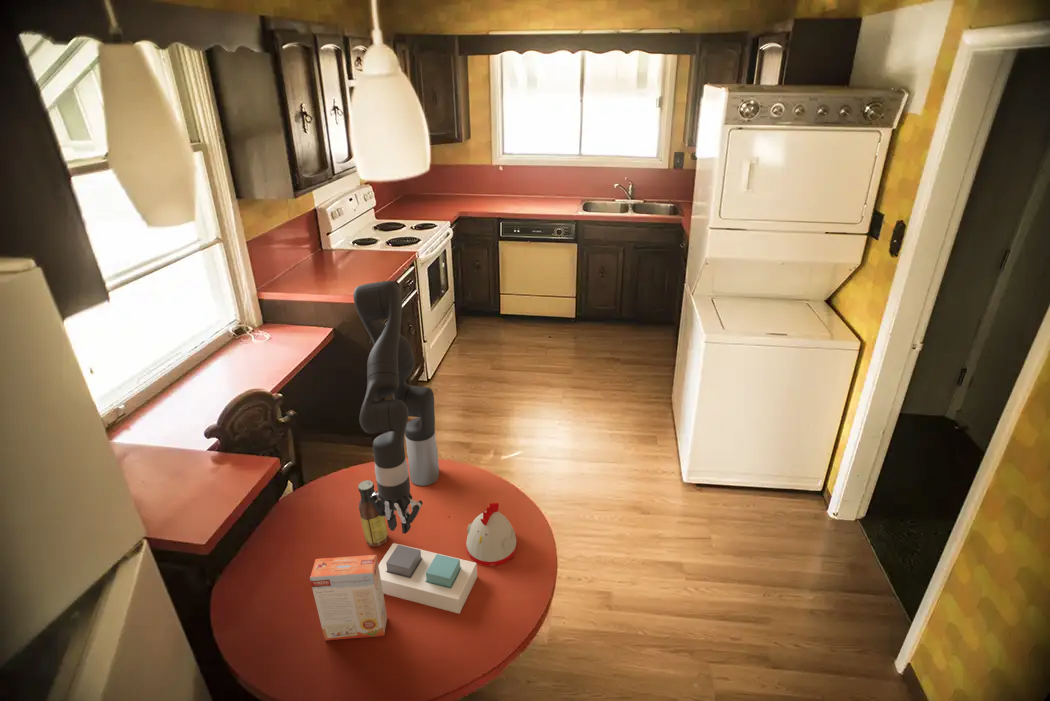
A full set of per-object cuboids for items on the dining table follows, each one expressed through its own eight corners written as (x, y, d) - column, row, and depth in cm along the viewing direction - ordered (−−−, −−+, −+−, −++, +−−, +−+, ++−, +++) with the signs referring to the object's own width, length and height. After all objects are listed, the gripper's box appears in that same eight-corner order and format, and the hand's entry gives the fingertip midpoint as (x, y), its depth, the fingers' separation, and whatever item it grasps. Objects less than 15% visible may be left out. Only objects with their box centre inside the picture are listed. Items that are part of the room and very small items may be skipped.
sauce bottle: (391, 532, 171) (383, 477, 162) (384, 548, 166) (375, 493, 157) (369, 531, 172) (359, 476, 163) (361, 547, 166) (351, 491, 157)
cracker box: (387, 615, 146) (377, 553, 137) (384, 637, 141) (373, 573, 131) (329, 619, 146) (315, 556, 136) (324, 641, 140) (308, 577, 131)
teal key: (437, 565, 155) (436, 553, 153) (460, 570, 153) (459, 559, 152) (427, 584, 150) (425, 572, 148) (450, 590, 148) (449, 578, 146)
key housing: (395, 556, 163) (393, 542, 161) (477, 576, 157) (476, 562, 155) (372, 590, 153) (370, 576, 151) (459, 613, 147) (458, 599, 144)
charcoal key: (399, 555, 158) (398, 544, 156) (421, 561, 156) (420, 550, 155) (387, 574, 153) (386, 562, 151) (410, 580, 151) (409, 568, 149)
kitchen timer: (456, 554, 164) (453, 513, 157) (483, 522, 175) (481, 482, 168) (500, 573, 158) (499, 530, 151) (525, 539, 169) (524, 498, 162)
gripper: (426, 470, 142) (432, 525, 150) (374, 460, 146) (382, 514, 154) (412, 490, 136) (418, 546, 144) (357, 479, 139) (367, 534, 147)
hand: (399, 529), depth 149 cm, fingers open, 3 cm apart
